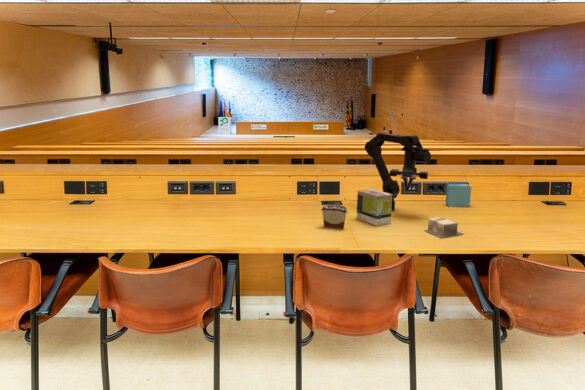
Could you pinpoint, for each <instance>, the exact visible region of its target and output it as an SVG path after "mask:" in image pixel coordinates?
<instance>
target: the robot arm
mask: <svg viewBox="0 0 585 390" xmlns="http://www.w3.org/2000/svg"><path fill="white" fill-rule="evenodd" d="M385 142H388V143H389V142H390V143H395V144H399V145H401V146H403V147H402V148H400V151H402V152H404V156H403V167H402V170H401V171H400V169H398V168H397V169H396V168H395V169H394V168H391V170H390V171H389V170H388V167H387V165H386V162H385V161H384V157H383V156H382V146H383V145H384V144H385ZM364 145H365V146H364V150H365V152H366V153H367V154H368V156H370V157H371V159H372V160H373V162H374V165H375V167H376V169H377V172H378V175H379V176H380V180H381V182H382V191H383V192H386V193H390V194H392V211H391V212H394V210H395V209H396V200H395V198H397V197H398V195H399V193H400V191H401V189H400V185H399V183H398V180H396V179H395V180H394V179H393V178H392V177H397V176H400V179H402V180H403V182H404V185H405V189H406V191H409V190H410V187H411V185H412V182H413V181H414V180H416V179H417V177H418V178H419V179H420V180H421V179H423V180H428V178H429V172H428V171H424V170H423V171H422V170H421V171H420V172H418V168H417V167H416V162H417V163H424V164H428V163H430V161H431V159H432V155H431V152H430V149H429V148H424V147H423V145H422V143H421V140H420V138H419V136H418V135H416V134H413V135H412V134H410V135H400V134H394V133H393V134H391V133H387V132H378V133H377V134H376V135H375V136H374V137H372V138H371V139H370V140H369V141H366V143H365V144H364Z"/></svg>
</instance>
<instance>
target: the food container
mask: <svg viewBox="0 0 585 390" xmlns="http://www.w3.org/2000/svg"><path fill="white" fill-rule="evenodd" d="M321 212H322V221H323V228H324V229H332V230H333V229H334V230H344V229H345V224H346V215H347V213H348V209H347V207H346V206H344V205H340V204H326V205H323V206H322V208H321Z"/></svg>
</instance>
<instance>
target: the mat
mask: <svg viewBox="0 0 585 390" xmlns="http://www.w3.org/2000/svg"><path fill="white" fill-rule="evenodd" d="M423 231H424V232H426V233H427V234H430V235H432V236H435V237H437V238H440V239H445V238H452V237H458V236H462V235H463V236H464V233H463V232H459V231H458V230H457V234H454V235H448V236H443V235H441V234H439V233H436V232H434V231H432V230H429V229H426V230H423Z"/></svg>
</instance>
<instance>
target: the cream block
mask: <svg viewBox="0 0 585 390" xmlns="http://www.w3.org/2000/svg"><path fill="white" fill-rule="evenodd" d="M458 225H459V224H458V222H455V221H453V220H450V219H447V218H445V217H443V216H439V217H438V216H437V217H432V218H431V217H430V218H428V225H427V230H432V231H434V232H436V233H439V234H441V235H443V236H448V235H454V234H457V231H458Z"/></svg>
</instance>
